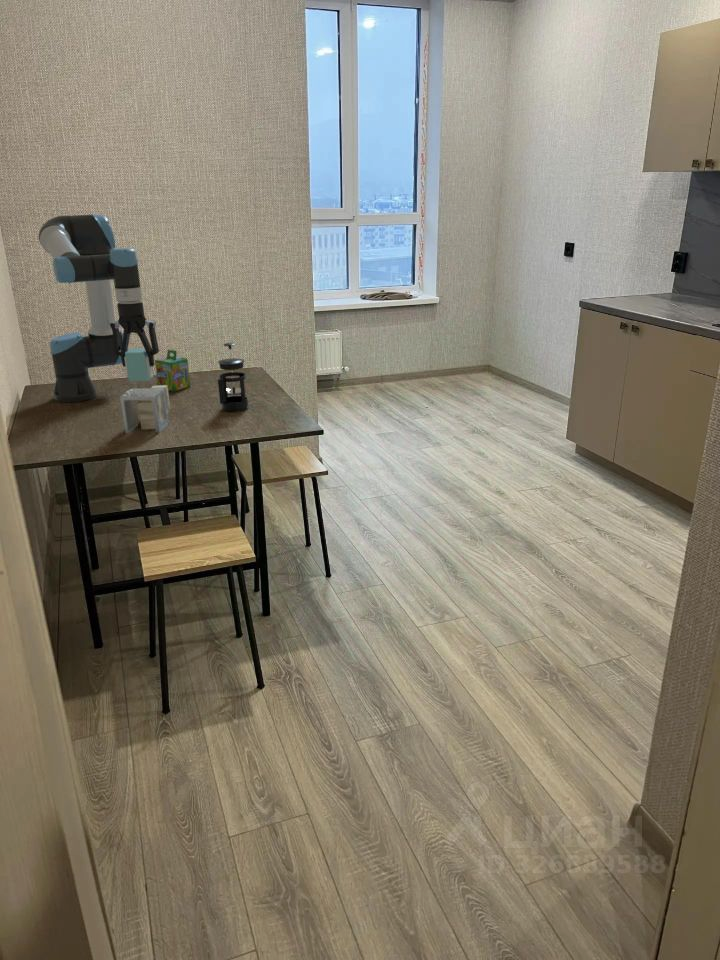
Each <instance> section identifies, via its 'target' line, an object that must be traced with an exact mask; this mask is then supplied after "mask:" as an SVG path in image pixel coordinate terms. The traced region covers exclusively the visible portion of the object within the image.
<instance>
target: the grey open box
mask: <svg viewBox="0 0 720 960" xmlns="http://www.w3.org/2000/svg"><path fill="white" fill-rule="evenodd" d="M160 395H161V399H162V407H163V415H164V419H163V420H162V421H161V422H160V423H159V419H158V411H157V403H156V398H157V397H159V396H160ZM119 400H120V407H121V411H122V413H121V414H122V419H123V427H124V433H125V434H130V432H131V431H133V430H134V429H135V428H136V427H137V426H138V425H139V424H140V419H139V412H138V405H137V400H138V401H140V400H152V405H153V413H154V420H155V427H156V429H155V434H160V433H161V432H162V431H163V430H164V429H165V428H166V427H167V426H168V425H169V416H168V414H167V407H166V399H165V391H164V388H151V387H150V388H148V387H147V388H130V389H129V390H127V391H126V392H124V393H123V394H122V395H120V397H119Z"/></svg>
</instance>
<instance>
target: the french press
mask: <svg viewBox="0 0 720 960" xmlns="http://www.w3.org/2000/svg"><path fill="white" fill-rule="evenodd" d="M236 345H237V344H236V343H234V342H227V343H224V344H223V346H224V347H228V350H229V355H230V356H229V357H230V358H225V359H224V358H223V359H221V360H218V362H217V364H219V369H220V370H224V371H230V372H224V373H221V374H220V375H219V378H218V379H217V385H218V396H219V404H220V405H221V410H222V411H223V410H224V412H226V411H227V412H228V413H239V412H238V411H240V412H244V411H246V410H248V409H249V408H250V406H249V401H248V400H249V399H248V397H247V396H246V391H247V390H246V388H245V379H247V378H246V377H247V375H246V373H245V372H243V371H242V372H241V371H240V372H239V371H235V370H241V369H243V368H244V364H245V359H242V358H233V357H232V348H233V346H236ZM234 376H235V377H234ZM234 382H236V383H237V382H239V387H235V383H234ZM227 383H232V387H229V388H228V387H227Z"/></svg>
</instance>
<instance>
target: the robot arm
mask: <svg viewBox="0 0 720 960" xmlns="http://www.w3.org/2000/svg"><path fill="white" fill-rule="evenodd" d="M38 231H39V232H38V240H39V243H40V246H41V247H42V249H43V250H44V251H45V252H47V253H48V254H50V255H51V258H52V259H53V260H52V268H53V273H54V276H55V280H56V281H57V282H58V283H60V284H63V283H64V284H72V283H83V282H84V283H85V290H86V297H87V303H88V311H89V318H90V325H91V326H90V327H89V328H88V330H87V336H84V335H83V334H82V333H81V332H74V333H73V332H72V333H66V334H63V335H62V334H61V335H59V336H55V337H54V338H52V339H51V340H50V342H49V347H50V355H51V357H52V358H51V359H52V364H53V365H52V366H53V369H54V377H55V382H54V383H55V384H54V390H53V398H54V401H55V402H59V403H78V402H84V401H88V400H93V399H94V398H96V397H97V396H98V393H97V388H96V386H95V384H94V382H93V381H92V379H91V377H90V372H89V369H92V368H93V369H94V368H98V367H99V368H101V367H107V366H115V365H121V364H122V367H125V370H126V371H125V373H126V378H128V379H129V377H128V370H127V363H126V357H125V352H127V351H129V350H128V349H129V343H130V338H131V334H132V333H133V334H137V336H138V338H139V339H140V342H141V344H142V345H143V349H145V351H146V353H147V356H146V365H147V372H148V377H152V376H153V373H154V369H153V370H152V366H153V367H155V355H157V354H158V353H160V350H159V345H158V338H157V332H156V321H155V320H154V321H153V320H152V321H151V320H147V318H146V316H145V308H144V303H143V302H142V300H143V296H142V294H143V293H142V288H141V281H140V275H139V274H140V273H139V267H138V265H139V264H138V263H139V262H138V258H137V253H136V250H135V249H134V248H132V247H131V248H129V247H126V248H125V247H124V248H116V238H115V235H114V232H113V228H112V226H111V224H110V221H109V220H108V218H107V217H106V215H103V214H77V215H75V214H74V215H59V216H54V217H52V218H50V219H48V220H47V221H46V222H44V223H43V224H42V226H41V227H40V230H38ZM112 280H113V285H114V286H113V287H114V292H115V298H116V299H115V301H116V302H118V303H117V313H118V320H117V321H116V318H115V307H114V302H113V301H114V300H113V294H112V285H111V281H112ZM145 326H146V327H147V328H148V334H149V335H148V336H149V339H150V342H149V340H148V337H147V335H146V331H145ZM120 327H121V328H122V329H123V331H121V328H120ZM152 378H153V377H152Z"/></svg>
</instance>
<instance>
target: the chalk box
mask: <svg viewBox="0 0 720 960" xmlns="http://www.w3.org/2000/svg"><path fill="white" fill-rule="evenodd" d="M171 354H173V355H172V356H171ZM154 363H155V364H154V366H155V372H156V373H155V375H156V383H157V385H156V386H158V385H168V392H174V393H175V392H177V391H180V390H184V389H186V388H190V387H191V384H190V383H191V381H190V370H189V360H188V358H186V357H181V356H177V350H171V349H167V354H166V357H164V358H163V357H162V358H159V359H158V358H157V359H156V360H155V359H154Z"/></svg>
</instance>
